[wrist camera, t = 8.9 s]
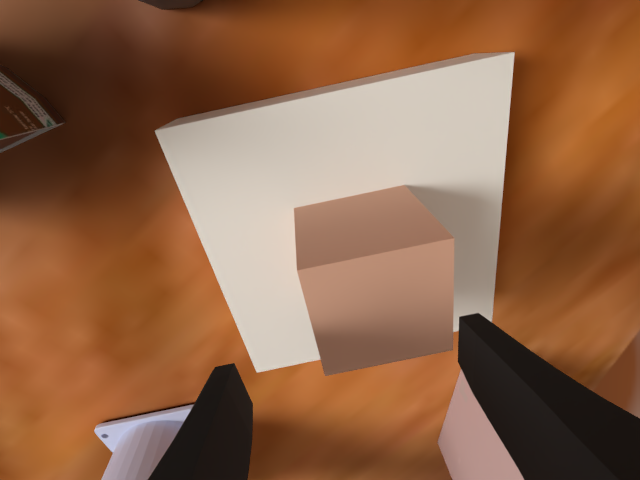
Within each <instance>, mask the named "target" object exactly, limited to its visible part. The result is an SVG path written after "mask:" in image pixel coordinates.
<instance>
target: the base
mask: <svg viewBox="0 0 640 480" xmlns="http://www.w3.org/2000/svg"><path fill="white" fill-rule="evenodd" d="M514 54H515V52H501V53H475V54H470V55H466V56H461V57H457V58H452V59H448V60H443V61H438V62H434V63H429V64H425V65H420V66H416V67H411V68H406V69H402V70H397V71H393V72H388V73H384V74H379V75H374V76H370V77H365V78H361V79H356V80H351V81H347V82H342V83H338V84H333V85H329V86H324V87H319V88H315V89H310V90H306V91H301V92H297V93H292V94H287V95H283V96H278V97H274V98H269V99H265V100H260V101H255V102H251V103H246V104H242V105H237V106H233V107H228V108H223V109H219V110H214V111H210V112H205V113H201V114H196V115H191V116H187V117H182V118H178V119H175V120H174V121H172V122H170V123H168V124H166V125H164V126H162V127H160V128H158V129H157V130H155V133H156V136H157V138H158V141H159V143H160V145H161V148H162V150H163V152H164V155H165V157H166V159H167V162H168V164H169V166H170V169H171V171H172V174H173V176H174V178H175V181H176V183H177V185H178V188H179V190H180V192H181V195H182V197H183V200H184V202H185V204H186V207H187V209H188V211H189V214H190V216H191V218H192V221H193V223H194V226H195V228H196V230H197V233H198V235H199V237H200V240H201V242H202V244H203V247H204V249H205V251H206V254H207V256H208V259H209V261H210V263H211V266H212V268H213V270H214V273H215V275H216V277H217V280H218V282H219V285H220V287H221V289H222V292H223V294H224V296H225V299H226V301H227V303H228V306H229V308H230V311H231V313H232V315H233V318H234V320H235V322H236V325H237V327H238V329H239V332H240V334H241V336H242V339H243V341H244V344H245V346H246V348H247V351H248V353H249V355H250V358H251V360H252V362H253V365H254V367H255V370H256V372H262V371H267V370H272V369H277V368H282V367H286V366H291V365H296V364H301V363H306V362H310V361H315V360H320V355H319V351H318V348H317V344H316V340H315V336H314V333H313V329H312V325H311V321H310V318H309V314H308V310H307V307H306V303H305V299H304V295H303V292H302V288H301V284H300V280H299V277H298V273H297V263H296V243H295V223H294V208H296V207H301V206H306V205H311V204H316V203H320V202H325V201H330V200H335V199H339V198H344V197H349V196H354V195H359V194H363V193H368V192H373V191H378V190H382V189H387V188H392V187H397V186H402V185H405V186H406V187H407V188H408V189H409V190H410V191H411V193H412V194H413V195H414V196H415V197H416V198H417V199H418V200H419V201H420V202H421V203H422V204H423V205H424V206H425V207H426V208H427V209H428V210H429V212H430V213H431V214H432V215H433V216H434V217H435V218H436V219H437V220H438V221H439V222H440V223H441V224H442V225H443V226H444V227H445V228H446V230H447V231H448V232H449V233H450V234H451V235H452V236H453V237H454V307H453V332H455V331H459V317H460V316H465V315H470V314H475V313H479V314H481V315H482V316H484V317H485V318H486V319H488V320H489V321H490V322H492V314H493V302H494V291H495V279H496V267H497V255H498V243H499V232H500V220H501V208H502V196H503V184H504V172H505V161H506V149H507V137H508V125H509V113H510V102H511V90H512V78H513V66H514Z"/></svg>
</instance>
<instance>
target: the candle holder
mask: <svg viewBox="0 0 640 480" xmlns="http://www.w3.org/2000/svg"><path fill="white" fill-rule="evenodd" d="M139 1H141V2H144V3H147V4H149V5H152V6H155V7H157V8H160V9H173V8H188V7H193V6H195V5H197V4H198V3H200V2H201V1H203V0H139Z"/></svg>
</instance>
